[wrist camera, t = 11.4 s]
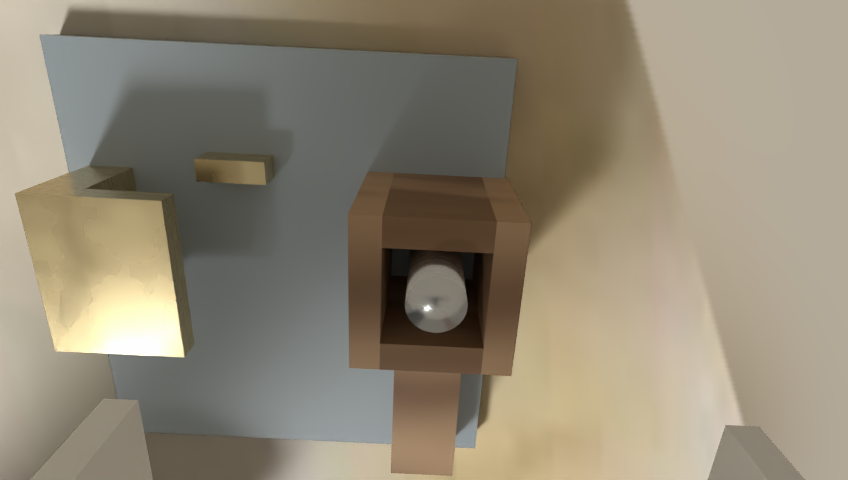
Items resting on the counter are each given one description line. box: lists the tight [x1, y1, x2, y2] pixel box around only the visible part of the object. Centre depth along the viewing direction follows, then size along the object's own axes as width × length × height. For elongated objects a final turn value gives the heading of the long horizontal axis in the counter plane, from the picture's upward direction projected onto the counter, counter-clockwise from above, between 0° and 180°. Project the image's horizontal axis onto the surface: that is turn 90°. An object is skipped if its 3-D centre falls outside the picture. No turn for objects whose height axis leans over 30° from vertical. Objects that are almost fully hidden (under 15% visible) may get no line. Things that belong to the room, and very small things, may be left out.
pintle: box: [405, 249, 468, 333], centre depth 21 cm, size 2×2×7 cm
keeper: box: [15, 152, 275, 357], centre depth 23 cm, size 8×8×4 cm
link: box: [348, 172, 532, 476], centre depth 24 cm, size 15×6×6 cm, turn 177°
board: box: [40, 35, 517, 448], centre depth 26 cm, size 20×21×1 cm
